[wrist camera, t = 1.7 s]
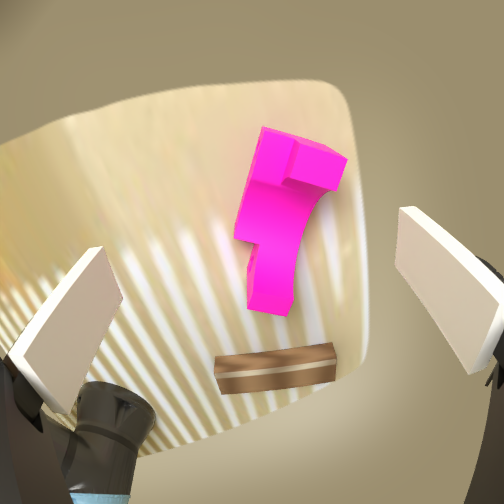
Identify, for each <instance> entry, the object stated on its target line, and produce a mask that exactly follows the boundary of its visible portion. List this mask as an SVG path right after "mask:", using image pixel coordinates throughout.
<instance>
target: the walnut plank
mask: <svg viewBox="0 0 504 504" xmlns="http://www.w3.org/2000/svg"><path fill="white" fill-rule="evenodd" d="M336 363H337V357H336V354H335V351H334V347H333V344H332V342H331V343H325V344H319V345H312V346H306V347H299V348H292V349H284V350H276V351H268V352H260V353H250V354H241V355H230V356H218V357H215V365H214V376H215V379H216V381H217V383H218V386H219V389H220V391H221V394H222V395H223V394H238V393H250V392H260V391H270V390H278V389H286V388H294V387H301V386H308V385H314V384H320V383H326V382H332V381H335V374H336Z"/></svg>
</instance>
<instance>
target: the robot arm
mask: <svg viewBox="0 0 504 504" xmlns="http://www.w3.org/2000/svg"><path fill="white" fill-rule="evenodd" d="M395 267H396V268H397V269H398V271H399V272H400V273H401V274H402V276H403V277H404V279H405V280H406V281H407V283H408V284H409V285H410V287H411V288H412V289H413V291H414V292H415V294H416V295H417V297H418V298H419V299H420V300H421V302H422V304H423V305H424V306H425V308H426V309H427V311H428V312H429V314H430V315H431V317H432V318H433V320H434V321H435V323H436V324H437V326H438V327H439V329H440V330H441V332H442V333H443V335H444V336H445V338H446V339H447V341H448V343H449V344H450V346H451V347H452V349H453V350H454V352H455V354H456V355H457V357H458V358H459V360H460V362H461V364H462V365H463V367H464V368H465V370H466V372H467V374H468V375H470V374H472V373H475V372H477V371H480V370H482V369H485V368H486V366H487V365H488V363H489V361H490V359H491V357H492V355H494V356H495V358H496V359H497V361H498V362H497V364H496V365H495V367H494V369H493V371H492V373H491V374H490V376H489V378H488V380H487V382H486V384H485V386H488V385H489V383H490V382H491V380H493V382H492V391H491V398H490V405H489V411H488V417H487V422H486V427H485V432H484V436H483V441H482V445H481V449H480V453H479V457H478V461H477V464H476V468H475V471H474V475H473V478H472V481H471V484H470V487H469V490H468V493H467V496H466V499H465V501H464V504H504V279H503V276H502V275H501V274H500V273H499V272H496V269H495V268H493V267H492V266H491V265H490V264H489V263H488V262H487V261H485V260H483V259H481V258H479V257H477V256H474V255H473V254H472V253H471V252H470V251H468V250H467V249H466V248H465V247H464V246H463V245H462V244H461V243H459V242H458V241H457V240H456V239H455V238H454V237H452V236H451V235H450V234H449V233H448V232H446V231H445V230H444V229H443V228H442V227H440V226H439V225H438V224H437V223H435V222H434V221H433V220H432V219H431V218H429V217H428V216H427V215H425V214H424V213H423V212H421V211H420V210H419V209H418V208H416V207H415V206H411V207H401V208H399V222H398V236H397V247H396V257H395ZM122 300H123V297H122V294H121V292H120V289H119V287H118V284H117V282H116V279H115V277H114V274H113V272H112V269H111V266H110V264H109V261H108V258H107V255H106V253H105V250H104V247H103V246H101V247H94V248H89V249H88V250H87V251H86V253H85V254H84V255H83V256H82V257H81V258H80V259H79V261H78V262H77V263H76V264H75V265H74V266H73V268H72V269H71V270H70V271H69V272H68V274H67V275H66V276H65V277H64V278H63V280H62V281H61V282H60V283H59V285H58V286H57V287H56V288H55V290H54V291H53V292H52V293H51V295H50V296H49V297H48V299H47V300H46V301H45V302H44V304H43V305H42V306H41V308H40V309H39V310H38V312H37V313H36V314H35V316H34V317H33V318H32V319H31V320H30V322H29V323H28V324H27V326H26V328H25V329H24V330H23V331H22V333H21V335H20V336H19V337H18V339H17V340H16V341H15V343H14V344H13V346H12V347H11V349H10V350H9V352H8V353H7V355H6V356H5V358H4V360H2V359H1V357H0V504H128V501H129V498H130V491H131V486H132V480H133V475H134V470H135V465H136V459H137V454H138V450H139V448H140V446H141V445H142V443H143V442H144V440H145V439H146V437H147V436H148V434H149V432H150V431H151V430H152V428H153V426H154V422H155V412H154V410H153V408H152V407H151V406H150V405H149V404H148V403H147V402H146V401H145V400H144V399H143V398H141V397H140V396H138V395H137V394H135V393H133V392H132V391H130V390H127V389H125V388H123V387H120V386H118V385H114V384H111V383H106V382H99V381H93V382H88V383H85V384H84V385H83V386H82V383H83V381H84V379H85V377H86V374H87V372H88V370H89V368H90V365H91V363H92V361H93V359H94V357H95V355H96V352H97V350H98V348H99V346H100V344H101V342H102V340H103V338H104V336H105V334H106V331H107V329H108V327H109V325H110V323H111V321H112V319H113V317H114V315H115V313H116V311H117V310H118V308H119V306H120V304H121V302H122ZM81 386H82V387H81ZM80 388H81V389H80ZM79 390H80V391H79ZM77 395H78V397H77ZM76 398H77V425H76V428H75V431H74V432H73V431H71V430H70V429H68V428H66V427H65V426H63V425H62V424H60V423H58V422H57V421H55V420H54V419H52V418H51V417H49V416H48V415H46V414H45V413H44V411H43V410H42V409H41V406H42V404H43V402H45V403H46V405H47V406H48V407H49V408H50V409H51V410H52V411H53V412H55V413H60V414H66V415H70V412H71V410H72V407H73V405H74V402H75V400H76Z"/></svg>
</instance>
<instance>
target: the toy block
mask: <svg viewBox="0 0 504 504" xmlns="http://www.w3.org/2000/svg"><path fill="white" fill-rule="evenodd" d="M347 160H348V159H347V158H345V157H344V156H342V155H340V154H339V153H337V152H336V151H334V150H332V149H331V148H329V147H327V146H326V145H323V144H320V143H317V142H314V141H311V140H308V139H305V138H302V137H298V136H295V135H292V134H288V133H285V132H281V131H278V130H274V129H271V128H267V127H263V126H262V129H261V132H260V136H259V139H258V143H257V146H256V150H255V153H254V157H253V160H252V164H251V167H250V171H249V175H248V178H247V182H246V185H245V189H244V193H243V196H242V200H241V204H240V207H239V211H238V215H237V219H236V222H235V229H234V238H235V239H239V240H243V241H247V242H252V243H254V247H253V250H252V253H251V256H250V260H249V263H248V266H247V309H249V310H254V311H259V312H264V313H270V314H275V315H280V316H285V317H287V314H288V312H289V310H290V307H291V305H292V303H293V300H294V297H293V280H294V270H295V263H296V258H297V253H298V248H299V245H300V241H301V237H302V234H303V231H304V228H305V226H306V223H307V220H308V218H309V216H310V214H311V212H312V210H313V208H314V206H315V205H316V203H317V202H318V200H319V199H320V198H321V196H322V195H324V194H325V193H326V192H328V191H331V190H333V191H337V188H338V185H339V183H340V180H341V177H342V174H343V171H344V168H345V166H346V163H347Z"/></svg>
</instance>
